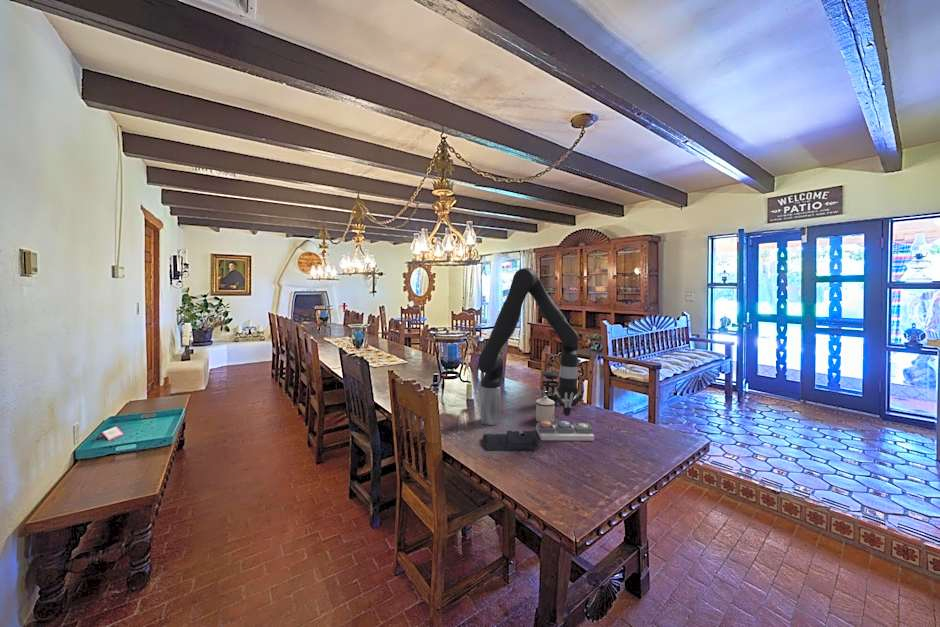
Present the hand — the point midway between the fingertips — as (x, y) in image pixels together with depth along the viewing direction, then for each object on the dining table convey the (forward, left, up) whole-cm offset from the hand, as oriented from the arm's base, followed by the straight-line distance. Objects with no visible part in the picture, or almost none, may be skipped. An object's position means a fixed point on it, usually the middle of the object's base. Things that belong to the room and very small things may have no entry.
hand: (566, 415), depth 162 cm
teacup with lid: (-6, +18, -9) cm, 21 cm away
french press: (+2, +41, -9) cm, 42 cm away
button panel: (-1, -1, -8) cm, 8 cm away
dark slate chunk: (-26, -10, -9) cm, 29 cm away
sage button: (+7, -1, -6) cm, 9 cm away
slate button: (-1, -1, -5) cm, 5 cm away
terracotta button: (-9, -1, -5) cm, 10 cm away
